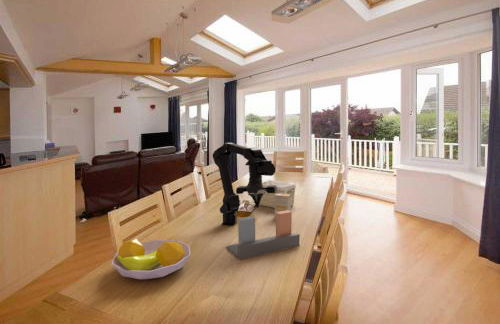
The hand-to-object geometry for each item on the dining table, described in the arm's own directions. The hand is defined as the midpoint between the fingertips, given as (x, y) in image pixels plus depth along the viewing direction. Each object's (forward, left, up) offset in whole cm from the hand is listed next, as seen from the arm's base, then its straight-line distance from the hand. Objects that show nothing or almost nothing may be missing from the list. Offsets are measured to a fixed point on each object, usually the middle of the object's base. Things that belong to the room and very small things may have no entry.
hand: (257, 207), depth 139 cm
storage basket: (-4, +53, -13) cm, 55 cm away
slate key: (+2, -23, -11) cm, 26 cm away
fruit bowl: (-26, -46, -13) cm, 55 cm away
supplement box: (+7, +28, -13) cm, 31 cm away
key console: (+7, -15, -12) cm, 21 cm away
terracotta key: (+14, -11, -11) cm, 21 cm away
